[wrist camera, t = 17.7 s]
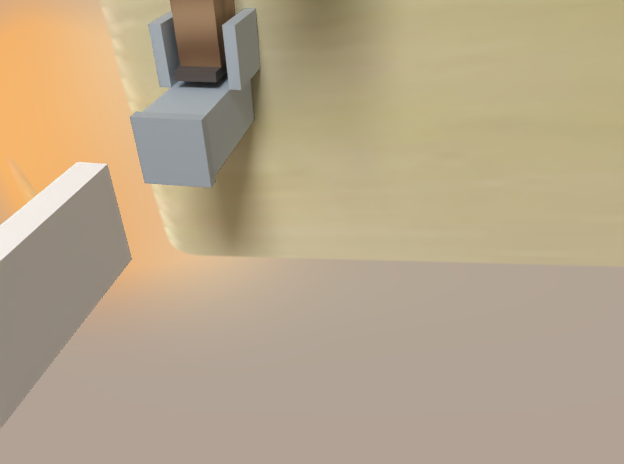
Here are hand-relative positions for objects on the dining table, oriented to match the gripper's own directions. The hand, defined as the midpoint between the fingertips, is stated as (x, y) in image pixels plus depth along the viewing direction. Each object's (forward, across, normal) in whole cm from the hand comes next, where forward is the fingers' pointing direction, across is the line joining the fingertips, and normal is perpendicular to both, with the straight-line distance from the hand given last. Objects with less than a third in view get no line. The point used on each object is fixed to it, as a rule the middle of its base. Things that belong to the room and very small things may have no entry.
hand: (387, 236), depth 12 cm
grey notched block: (+36, -17, -8) cm, 41 cm away
